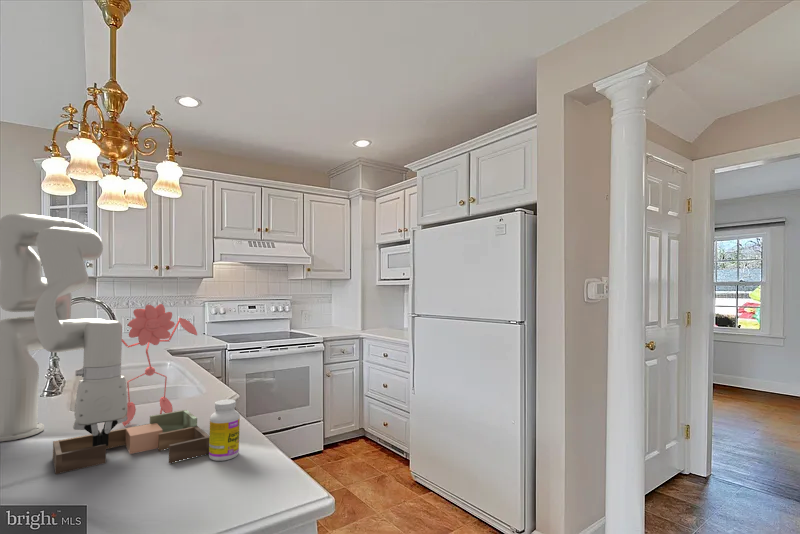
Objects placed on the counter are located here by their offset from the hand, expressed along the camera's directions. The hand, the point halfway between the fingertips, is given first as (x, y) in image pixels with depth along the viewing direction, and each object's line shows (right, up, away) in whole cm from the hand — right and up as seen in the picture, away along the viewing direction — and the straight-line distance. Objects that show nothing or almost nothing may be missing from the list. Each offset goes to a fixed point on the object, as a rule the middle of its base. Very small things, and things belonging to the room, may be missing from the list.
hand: (100, 450), depth 104 cm
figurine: (-2, -3, +25) cm, 25 cm away
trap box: (+8, -2, 0) cm, 8 cm away
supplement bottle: (+29, -2, 0) cm, 29 cm away
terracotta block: (+7, -2, +6) cm, 9 cm away
